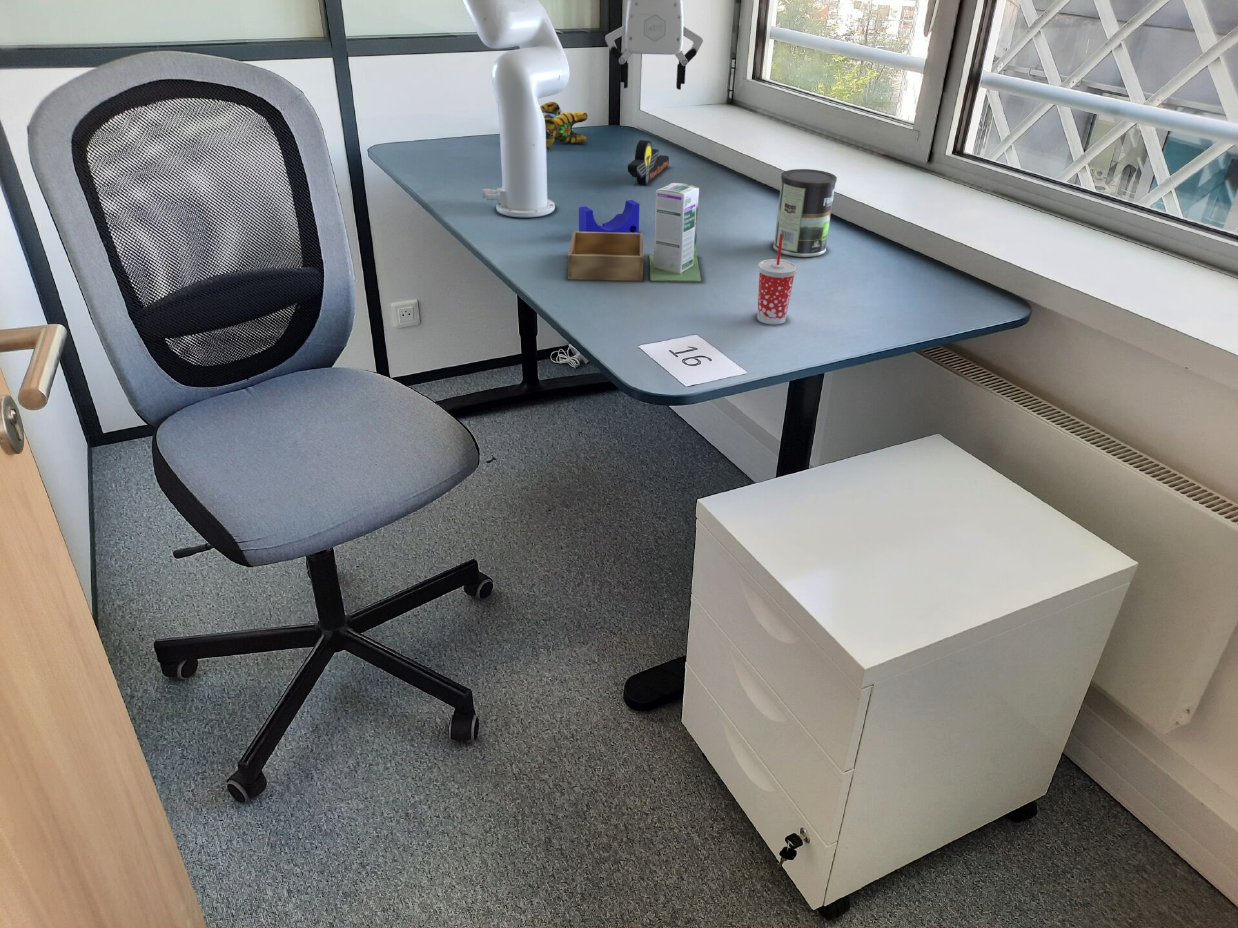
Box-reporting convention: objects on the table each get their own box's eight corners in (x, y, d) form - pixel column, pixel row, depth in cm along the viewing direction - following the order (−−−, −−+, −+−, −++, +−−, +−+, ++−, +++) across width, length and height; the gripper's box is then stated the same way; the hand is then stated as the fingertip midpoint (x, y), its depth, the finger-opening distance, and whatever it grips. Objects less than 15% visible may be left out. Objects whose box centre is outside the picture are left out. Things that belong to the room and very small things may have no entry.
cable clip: (627, 227, 182) (628, 198, 178) (638, 233, 178) (639, 203, 175) (575, 235, 177) (575, 205, 173) (585, 241, 173) (585, 211, 170)
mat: (650, 281, 156) (650, 279, 156) (649, 256, 167) (649, 254, 167) (700, 282, 156) (701, 280, 156) (696, 257, 167) (696, 255, 167)
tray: (568, 279, 156) (568, 255, 154) (572, 254, 167) (572, 231, 165) (642, 281, 156) (643, 257, 154) (642, 255, 167) (642, 233, 165)
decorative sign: (635, 194, 202) (637, 149, 196) (626, 193, 202) (628, 148, 197) (668, 166, 223) (670, 125, 218) (660, 165, 224) (662, 124, 219)
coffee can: (829, 244, 175) (840, 172, 167) (821, 260, 167) (832, 185, 159) (778, 237, 178) (787, 166, 170) (767, 253, 170) (776, 179, 162)
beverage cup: (776, 329, 139) (787, 243, 132) (744, 319, 143) (753, 234, 135) (797, 318, 143) (809, 234, 136) (765, 308, 147) (775, 225, 139)
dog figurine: (553, 148, 254) (504, 152, 243) (550, 102, 250) (499, 104, 239) (599, 146, 240) (549, 150, 229) (596, 97, 236) (545, 99, 225)
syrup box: (680, 274, 158) (685, 193, 150) (652, 268, 161) (655, 188, 153) (695, 265, 162) (700, 186, 154) (667, 259, 165) (671, 181, 157)
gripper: (605, -19, 147) (603, 90, 157) (708, -16, 147) (700, 93, 157) (606, -22, 154) (605, 83, 163) (705, -20, 154) (698, 85, 163)
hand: (652, 87), depth 160 cm, fingers open, 9 cm apart
